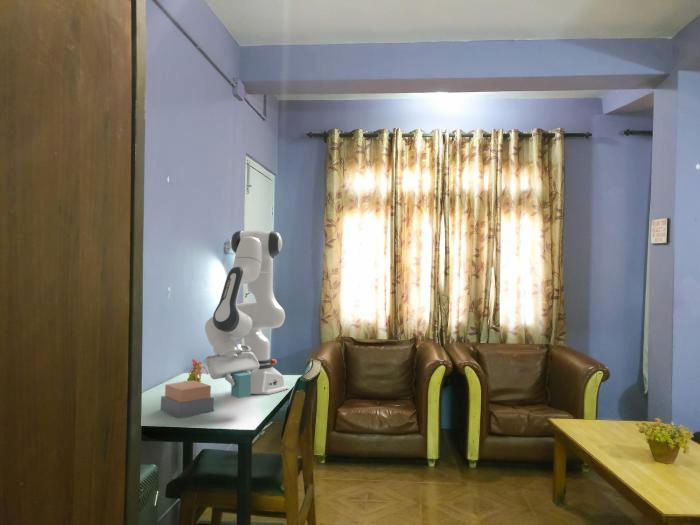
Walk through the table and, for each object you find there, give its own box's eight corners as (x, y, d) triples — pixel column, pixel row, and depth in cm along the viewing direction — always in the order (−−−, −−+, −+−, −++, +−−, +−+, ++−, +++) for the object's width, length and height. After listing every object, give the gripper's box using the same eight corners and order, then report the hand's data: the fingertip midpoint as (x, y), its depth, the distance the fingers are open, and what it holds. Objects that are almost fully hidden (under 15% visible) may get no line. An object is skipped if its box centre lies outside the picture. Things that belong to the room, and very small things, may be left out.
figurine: (186, 392, 225) (187, 364, 226) (189, 389, 231) (190, 362, 232) (206, 392, 226) (207, 365, 226) (208, 389, 232) (209, 362, 232)
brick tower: (194, 403, 208) (195, 379, 208) (213, 411, 198) (214, 385, 198) (160, 409, 198) (161, 384, 198) (179, 417, 188) (180, 391, 188)
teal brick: (242, 392, 198) (243, 371, 198) (250, 395, 194) (250, 374, 194) (231, 395, 194) (231, 373, 194) (239, 398, 191) (239, 376, 190)
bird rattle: (186, 385, 247) (187, 381, 240) (187, 362, 252) (187, 357, 244) (200, 385, 249) (201, 381, 242) (200, 362, 254) (201, 357, 246)
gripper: (206, 351, 191) (221, 383, 185) (253, 345, 206) (267, 374, 199) (200, 362, 194) (213, 393, 188) (246, 355, 209) (260, 384, 202)
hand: (242, 383), depth 194 cm, fingers closed on teal brick, 5 cm apart
